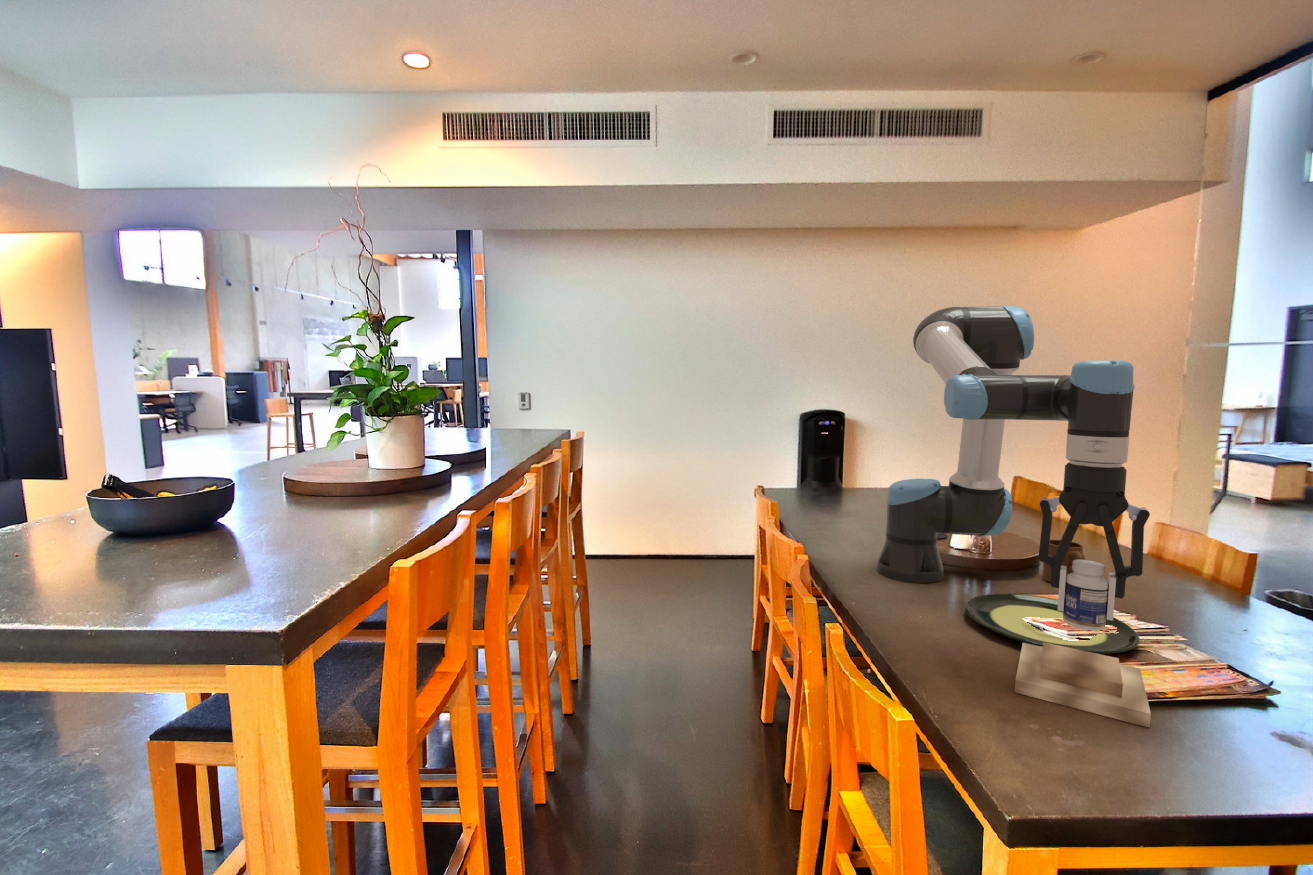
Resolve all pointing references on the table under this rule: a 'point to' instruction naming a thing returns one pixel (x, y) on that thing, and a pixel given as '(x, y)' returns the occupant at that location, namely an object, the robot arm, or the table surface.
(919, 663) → the table surface
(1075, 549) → the mug
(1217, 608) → the table surface
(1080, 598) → the pill bottle
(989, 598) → the plate
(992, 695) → the table surface
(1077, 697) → the base
